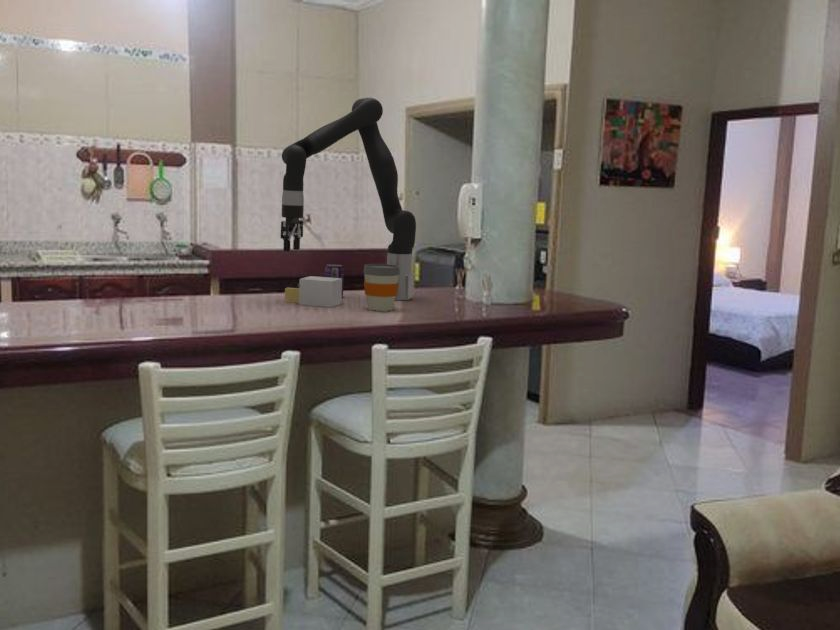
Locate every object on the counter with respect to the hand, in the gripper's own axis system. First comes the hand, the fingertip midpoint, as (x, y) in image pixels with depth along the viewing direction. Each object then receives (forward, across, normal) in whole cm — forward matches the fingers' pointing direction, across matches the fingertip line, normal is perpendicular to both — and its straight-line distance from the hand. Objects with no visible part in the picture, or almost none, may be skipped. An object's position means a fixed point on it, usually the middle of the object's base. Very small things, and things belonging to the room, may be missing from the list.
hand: (291, 250), depth 278 cm
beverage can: (+18, +19, -9) cm, 28 cm away
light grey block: (+18, 0, -11) cm, 21 cm away
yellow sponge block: (+18, 0, -3) cm, 19 cm away
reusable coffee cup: (+18, 0, -33) cm, 38 cm away
